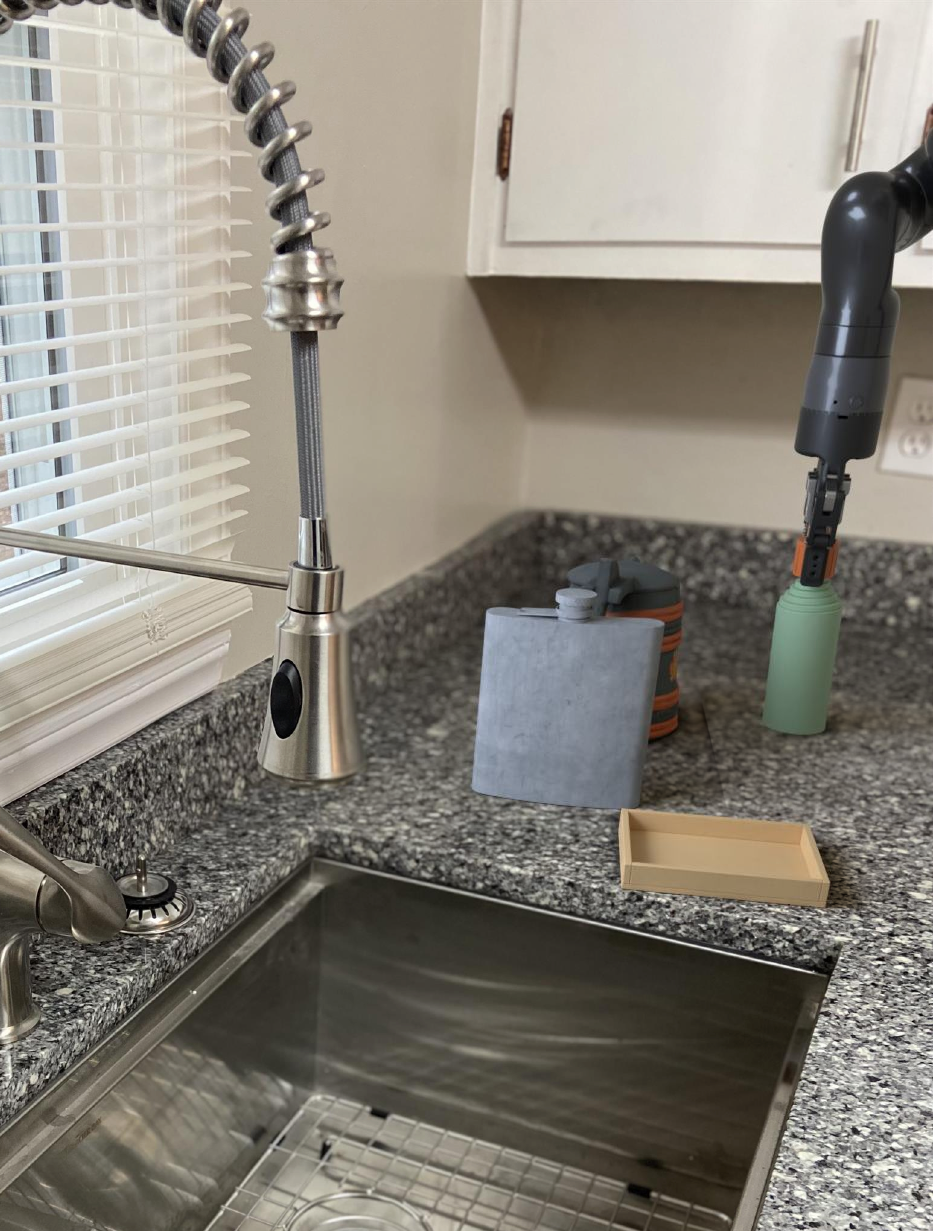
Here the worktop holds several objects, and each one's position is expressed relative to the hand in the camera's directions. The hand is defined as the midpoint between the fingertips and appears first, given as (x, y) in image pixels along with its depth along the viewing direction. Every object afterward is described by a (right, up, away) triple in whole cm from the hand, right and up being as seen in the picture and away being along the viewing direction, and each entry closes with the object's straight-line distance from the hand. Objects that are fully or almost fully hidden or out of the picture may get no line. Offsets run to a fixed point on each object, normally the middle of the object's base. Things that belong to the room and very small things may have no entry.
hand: (810, 579), depth 144 cm
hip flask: (-28, -23, -8) cm, 37 cm away
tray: (-17, -30, -22) cm, 41 cm away
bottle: (+1, -15, +8) cm, 17 cm away
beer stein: (-19, -14, +9) cm, 25 cm away
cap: (0, +1, 0) cm, 1 cm away
